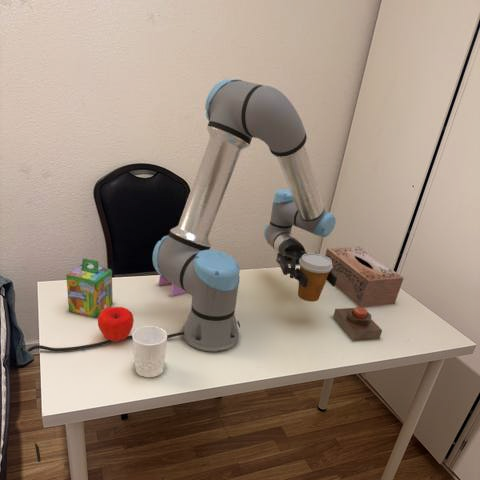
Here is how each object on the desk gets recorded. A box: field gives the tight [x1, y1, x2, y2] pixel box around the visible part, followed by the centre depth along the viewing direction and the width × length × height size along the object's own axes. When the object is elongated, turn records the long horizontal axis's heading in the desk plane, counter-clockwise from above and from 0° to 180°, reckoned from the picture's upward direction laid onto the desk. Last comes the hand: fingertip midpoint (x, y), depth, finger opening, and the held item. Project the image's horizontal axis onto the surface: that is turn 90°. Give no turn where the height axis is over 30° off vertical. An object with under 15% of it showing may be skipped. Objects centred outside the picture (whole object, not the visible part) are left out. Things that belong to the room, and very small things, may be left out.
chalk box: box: [65, 258, 114, 319], centre depth 122 cm, size 9×9×15 cm
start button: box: [353, 306, 369, 318], centre depth 131 cm, size 4×4×2 cm
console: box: [332, 307, 383, 342], centre depth 132 cm, size 9×13×5 cm
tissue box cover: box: [324, 246, 405, 308], centre depth 155 cm, size 26×14×10 cm, turn 21°
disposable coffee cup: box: [297, 252, 333, 303], centre depth 126 cm, size 10×10×12 cm
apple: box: [97, 306, 135, 342], centre depth 113 cm, size 9×9×8 cm
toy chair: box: [157, 274, 187, 297], centre depth 137 cm, size 8×9×15 cm
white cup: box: [131, 325, 168, 378], centre depth 103 cm, size 8×8×10 cm
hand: (320, 282), depth 121 cm, fingers closed on disposable coffee cup, 8 cm apart
